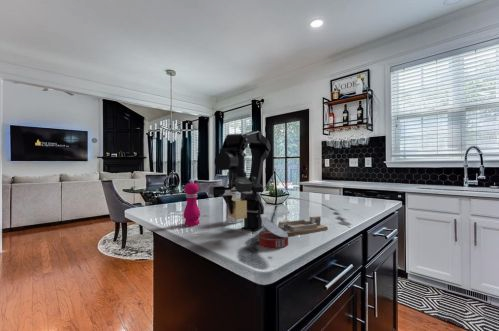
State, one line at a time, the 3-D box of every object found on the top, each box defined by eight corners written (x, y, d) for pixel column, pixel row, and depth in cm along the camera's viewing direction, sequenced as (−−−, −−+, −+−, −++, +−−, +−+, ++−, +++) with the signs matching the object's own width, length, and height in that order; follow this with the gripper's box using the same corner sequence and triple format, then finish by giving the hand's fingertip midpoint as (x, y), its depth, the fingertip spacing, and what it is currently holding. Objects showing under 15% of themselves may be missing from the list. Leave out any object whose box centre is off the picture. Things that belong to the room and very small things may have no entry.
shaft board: (270, 230, 97) (270, 218, 97) (311, 224, 105) (311, 213, 105) (284, 236, 88) (284, 224, 88) (327, 229, 96) (327, 218, 96)
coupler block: (236, 219, 82) (235, 201, 82) (227, 214, 89) (227, 198, 89) (246, 218, 84) (246, 200, 83) (237, 213, 91) (237, 197, 91)
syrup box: (234, 219, 115) (233, 189, 115) (243, 221, 112) (243, 189, 112) (226, 222, 111) (225, 190, 110) (236, 224, 107) (235, 191, 107)
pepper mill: (203, 223, 108) (203, 178, 108) (191, 227, 102) (191, 179, 102) (192, 221, 112) (191, 178, 112) (180, 225, 106) (179, 179, 106)
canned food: (271, 251, 86) (279, 224, 90) (291, 257, 78) (299, 227, 81) (246, 242, 81) (256, 213, 84) (265, 247, 73) (275, 215, 76)
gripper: (218, 170, 75) (218, 221, 75) (270, 169, 83) (271, 215, 83) (208, 169, 85) (208, 214, 85) (256, 168, 93) (256, 209, 93)
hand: (236, 213), depth 86 cm, fingers closed on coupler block, 4 cm apart
